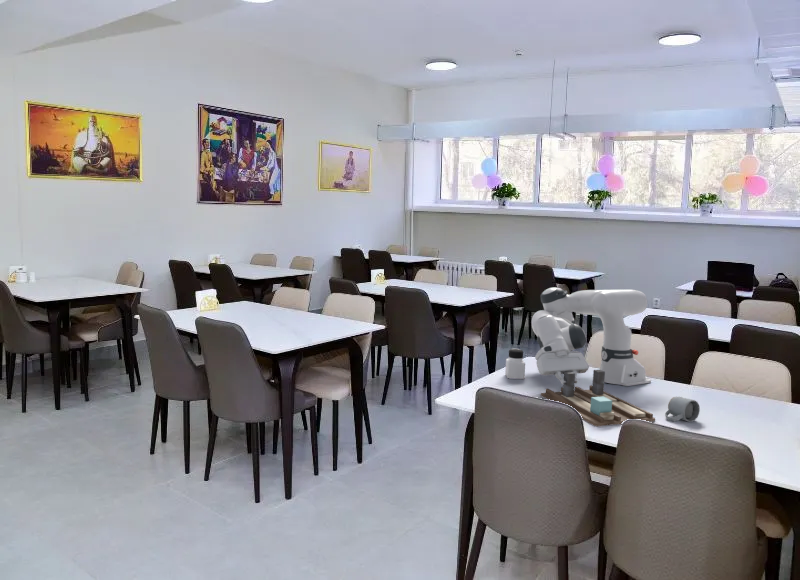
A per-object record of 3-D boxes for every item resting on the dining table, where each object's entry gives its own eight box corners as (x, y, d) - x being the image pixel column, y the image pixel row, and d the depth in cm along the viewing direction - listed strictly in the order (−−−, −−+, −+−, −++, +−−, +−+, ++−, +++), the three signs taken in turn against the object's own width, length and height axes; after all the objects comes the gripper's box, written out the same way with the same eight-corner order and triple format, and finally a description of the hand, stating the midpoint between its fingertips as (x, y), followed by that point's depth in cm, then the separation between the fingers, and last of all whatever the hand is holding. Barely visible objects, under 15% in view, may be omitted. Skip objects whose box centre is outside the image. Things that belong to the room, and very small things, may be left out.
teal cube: (602, 410, 226) (603, 396, 225) (611, 414, 221) (612, 400, 220) (590, 411, 224) (591, 397, 224) (598, 415, 220) (599, 401, 219)
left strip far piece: (620, 404, 237) (620, 401, 237) (645, 416, 224) (645, 413, 224) (608, 405, 236) (608, 402, 235) (633, 417, 222) (633, 414, 222)
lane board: (593, 391, 257) (594, 385, 256) (655, 421, 223) (655, 413, 223) (540, 395, 249) (541, 388, 249) (595, 426, 216) (596, 418, 215)
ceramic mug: (680, 413, 232) (681, 392, 231) (699, 420, 225) (701, 399, 224) (658, 417, 228) (660, 396, 227) (677, 424, 220) (679, 403, 219)
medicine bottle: (524, 379, 272) (526, 351, 271) (507, 378, 272) (509, 351, 271) (521, 375, 279) (523, 347, 278) (505, 374, 279) (506, 347, 278)
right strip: (571, 397, 244) (573, 371, 243) (613, 419, 220) (615, 390, 219) (559, 398, 243) (561, 371, 242) (601, 420, 218) (603, 391, 217)
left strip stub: (600, 395, 248) (602, 369, 247) (616, 402, 239) (618, 376, 238) (589, 395, 247) (591, 370, 245) (605, 403, 237) (607, 376, 236)
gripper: (577, 354, 254) (589, 385, 246) (531, 357, 248) (542, 388, 240) (584, 346, 250) (597, 377, 242) (537, 348, 243) (549, 380, 235)
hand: (569, 383), depth 241 cm, fingers open, 3 cm apart
